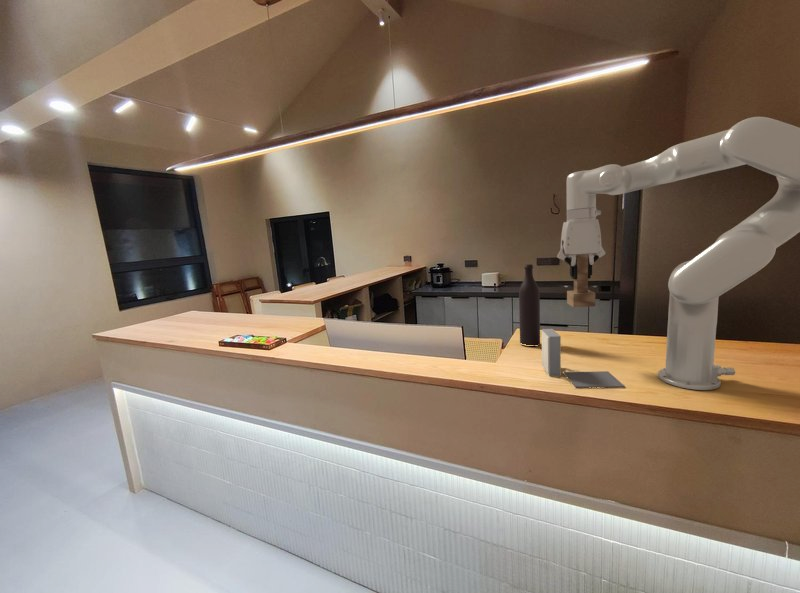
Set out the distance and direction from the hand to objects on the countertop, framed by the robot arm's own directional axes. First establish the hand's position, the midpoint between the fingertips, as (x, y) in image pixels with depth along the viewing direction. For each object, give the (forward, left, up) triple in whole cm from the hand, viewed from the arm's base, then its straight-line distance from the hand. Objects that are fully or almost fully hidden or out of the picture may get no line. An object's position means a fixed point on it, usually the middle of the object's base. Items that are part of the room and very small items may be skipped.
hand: (580, 277), depth 103 cm
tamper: (0, 0, -8) cm, 8 cm away
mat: (+1, +13, -27) cm, 30 cm away
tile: (+10, +6, -27) cm, 29 cm away
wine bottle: (+11, -20, -27) cm, 36 cm away
